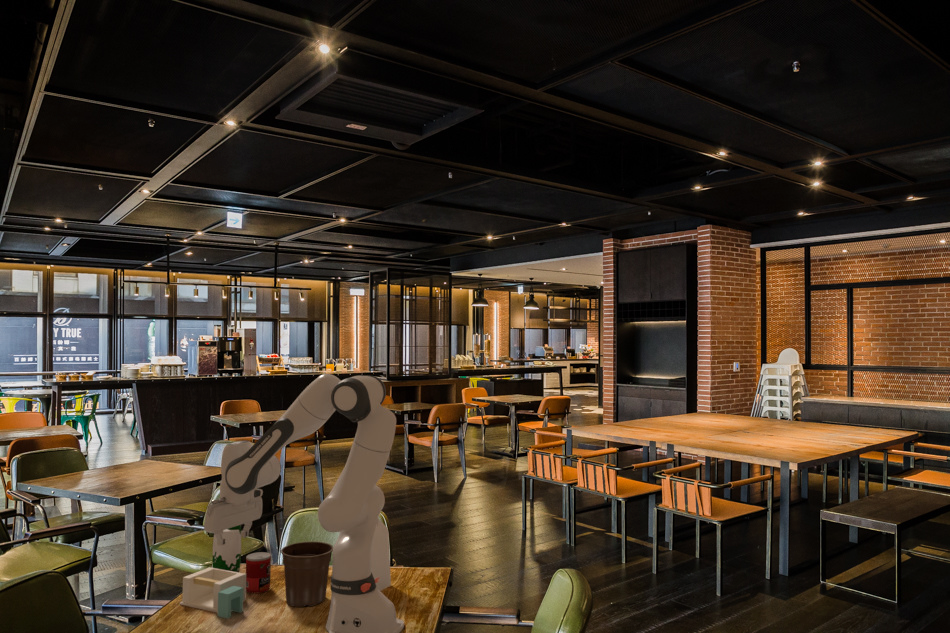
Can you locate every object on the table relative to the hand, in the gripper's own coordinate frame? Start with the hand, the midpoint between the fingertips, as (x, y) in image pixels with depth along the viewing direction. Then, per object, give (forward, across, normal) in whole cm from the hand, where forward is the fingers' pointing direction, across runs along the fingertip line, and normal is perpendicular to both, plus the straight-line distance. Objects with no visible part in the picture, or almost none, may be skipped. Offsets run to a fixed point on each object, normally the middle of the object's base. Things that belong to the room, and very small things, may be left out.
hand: (233, 540), depth 193 cm
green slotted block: (+21, 0, -1) cm, 21 cm away
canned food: (+22, +19, +6) cm, 29 cm away
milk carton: (+22, +20, +22) cm, 37 cm away
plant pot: (+21, +18, -14) cm, 31 cm away
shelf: (+22, +4, +11) cm, 25 cm away
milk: (+21, +35, -26) cm, 48 cm away
